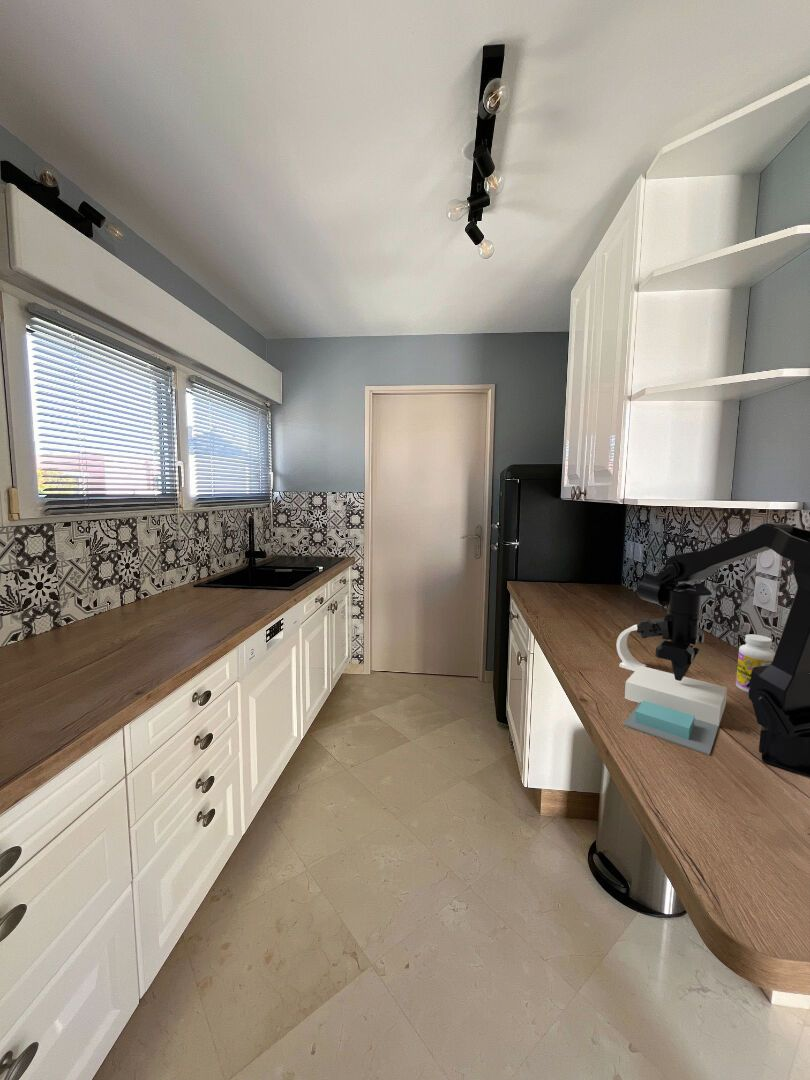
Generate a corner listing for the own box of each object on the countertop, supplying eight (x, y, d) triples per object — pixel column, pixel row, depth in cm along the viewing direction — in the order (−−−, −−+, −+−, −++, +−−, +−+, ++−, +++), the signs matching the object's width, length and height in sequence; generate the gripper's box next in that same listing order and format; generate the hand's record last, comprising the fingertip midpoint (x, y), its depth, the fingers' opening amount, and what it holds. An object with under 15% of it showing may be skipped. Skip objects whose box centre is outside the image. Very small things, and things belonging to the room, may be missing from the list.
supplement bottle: (728, 683, 100) (732, 632, 98) (756, 683, 100) (761, 632, 98) (750, 696, 93) (755, 642, 92) (780, 697, 93) (786, 642, 91)
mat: (718, 727, 81) (718, 726, 81) (709, 755, 72) (709, 753, 72) (639, 703, 91) (639, 701, 90) (623, 725, 82) (623, 724, 82)
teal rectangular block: (689, 728, 76) (688, 739, 76) (694, 715, 81) (694, 726, 81) (635, 711, 82) (635, 721, 83) (643, 700, 87) (642, 710, 87)
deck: (725, 704, 90) (727, 687, 89) (718, 727, 81) (720, 708, 81) (639, 681, 101) (640, 665, 101) (624, 698, 93) (625, 681, 92)
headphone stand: (639, 672, 106) (641, 627, 105) (615, 665, 111) (617, 622, 109) (646, 667, 109) (648, 624, 108) (622, 661, 114) (624, 619, 112)
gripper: (651, 597, 101) (647, 657, 103) (630, 613, 88) (626, 683, 89) (706, 605, 94) (701, 670, 96) (693, 624, 80) (687, 700, 82)
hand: (678, 679), depth 91 cm, fingers closed
